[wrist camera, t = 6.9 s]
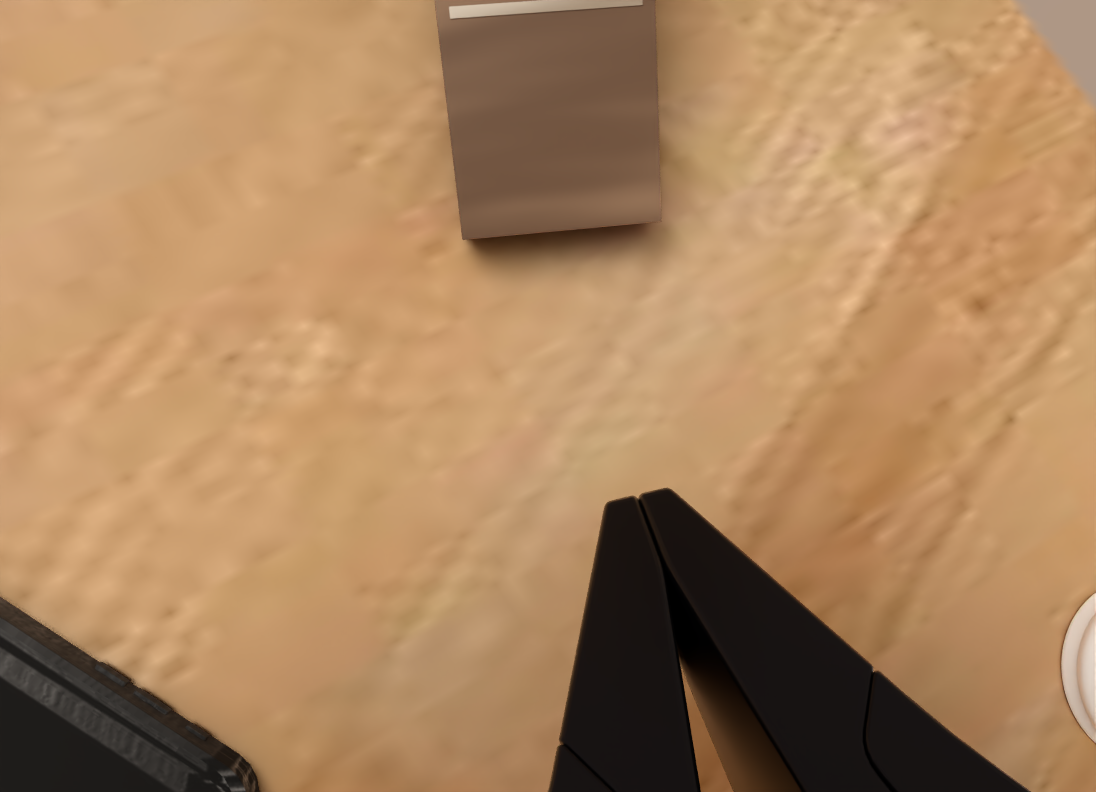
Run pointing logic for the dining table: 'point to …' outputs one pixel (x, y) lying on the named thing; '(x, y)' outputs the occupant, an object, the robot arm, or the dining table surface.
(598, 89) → the domino
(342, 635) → the dining table surface
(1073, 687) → the chess piece
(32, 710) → the phone
